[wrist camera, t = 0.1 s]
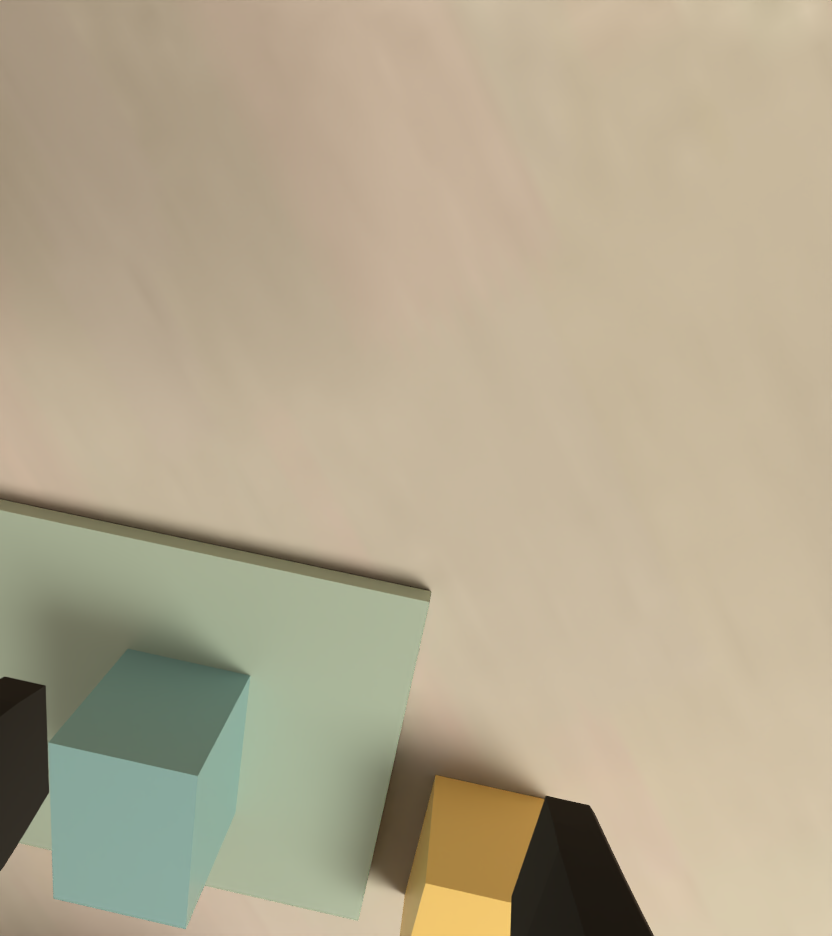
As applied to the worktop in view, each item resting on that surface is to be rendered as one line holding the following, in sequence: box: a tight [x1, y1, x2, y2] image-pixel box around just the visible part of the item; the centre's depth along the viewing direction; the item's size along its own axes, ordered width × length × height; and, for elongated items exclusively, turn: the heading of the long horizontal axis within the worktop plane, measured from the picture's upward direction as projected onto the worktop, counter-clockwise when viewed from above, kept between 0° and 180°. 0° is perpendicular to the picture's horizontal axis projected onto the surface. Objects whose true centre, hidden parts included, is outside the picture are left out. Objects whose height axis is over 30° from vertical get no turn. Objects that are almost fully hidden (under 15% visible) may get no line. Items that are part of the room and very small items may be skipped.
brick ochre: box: [400, 775, 545, 936], centre depth 21 cm, size 6×4×4 cm, turn 170°
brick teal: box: [48, 649, 250, 929], centre depth 20 cm, size 6×4×4 cm, turn 170°
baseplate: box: [0, 499, 431, 921], centre depth 22 cm, size 14×14×1 cm
